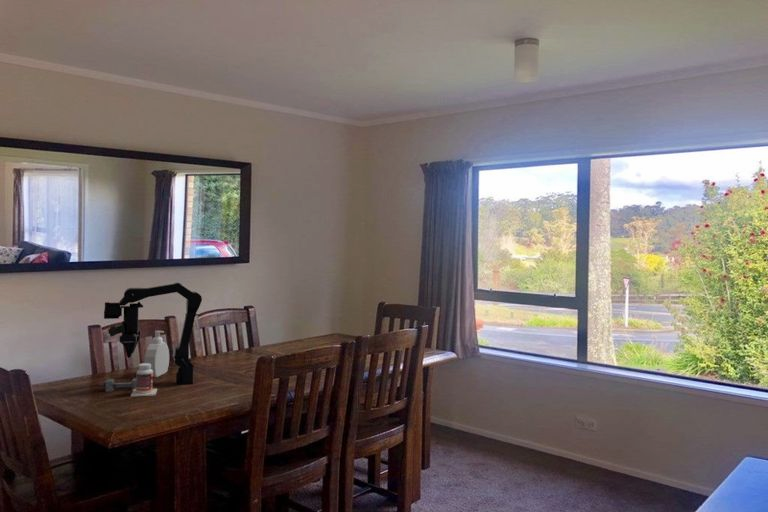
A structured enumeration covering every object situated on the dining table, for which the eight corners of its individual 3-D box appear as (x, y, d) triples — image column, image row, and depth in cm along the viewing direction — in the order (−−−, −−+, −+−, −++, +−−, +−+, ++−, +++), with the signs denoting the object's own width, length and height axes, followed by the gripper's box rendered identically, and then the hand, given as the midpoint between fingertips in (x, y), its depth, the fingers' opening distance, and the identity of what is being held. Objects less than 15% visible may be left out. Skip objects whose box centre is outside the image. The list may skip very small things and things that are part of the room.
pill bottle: (154, 392, 240) (154, 365, 239) (137, 394, 236) (138, 366, 236) (150, 389, 245) (151, 362, 245) (134, 390, 242) (135, 363, 241)
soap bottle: (155, 378, 265) (156, 334, 265) (143, 378, 265) (144, 333, 265) (170, 370, 281) (170, 328, 281) (158, 370, 281) (159, 328, 281)
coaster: (157, 389, 246) (157, 388, 246) (155, 395, 237) (155, 394, 237) (133, 390, 244) (133, 389, 244) (130, 396, 235) (130, 395, 235)
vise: (140, 385, 252) (140, 376, 252) (138, 390, 245) (138, 380, 244) (101, 387, 248) (101, 377, 248) (97, 392, 240) (97, 382, 240)
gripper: (113, 315, 257) (113, 351, 257) (106, 321, 239) (105, 360, 239) (141, 315, 260) (140, 351, 260) (136, 321, 242) (135, 359, 242)
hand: (130, 355), depth 250 cm, fingers open, 9 cm apart
